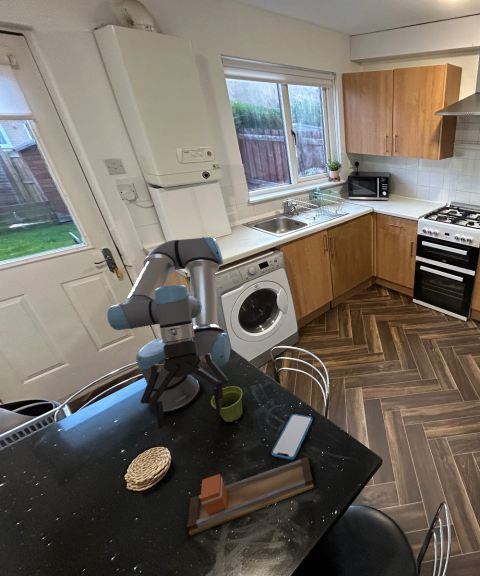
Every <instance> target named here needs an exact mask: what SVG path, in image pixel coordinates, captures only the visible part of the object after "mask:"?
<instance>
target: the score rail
mask: <svg viewBox="0 0 480 576" xmlns="http://www.w3.org/2000/svg"><path fill="white" fill-rule="evenodd" d="M225 487H226V490H227V492H228V509H226V510H223V511H220V512H218V513H215V514H212V515H210V516H209V515H208V513H207V511H206V509H205V507H204V505H202V501H201V499H200V498H201V494H199V495H196V496H193V497H190V500H189V508H188V516H187V523H186V528H187V530H188V535H189V536H190V537H191V536H193V535H195V534H199V533H200V532H203V531H206V530H209V529H211V528H213V527H217V526H219V525H221V524H224V523H226V522H229V521H232V520H234V519H237V518H239V517H242V516H245V515H247V514H250V513H253V512H255V511H258V510H260V509H262V508H265V507H268V506H270V505H273V504H275V503H278V502H280V501H283V500H285V499H288V498H291V497H293V496H296V495H298V494H301V493H304V492H306V491H309V490H311V489H314V488H315V487H314V481H313V476H312V471H311V466H310V460H309V457H308V456H306V457H304V458H301V459H297V460H295V461H292V462H289V463H287V464H285V465H280V466H278V467H275V468H272V469H270V470H267V471H263V472H260V473H258V474H256V475H252V476H250V477H247V478H244V479H241V480H239V481H235V482H232V483H230V484H227V485H225Z"/></svg>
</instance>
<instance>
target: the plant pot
mask: <svg viewBox="0 0 480 576" xmlns="http://www.w3.org/2000/svg"><path fill="white" fill-rule="evenodd" d="M222 389H223V398H222V399H220V404H221V412H220V413H219V415H220V416H221V418H222V419H223V421H224V422H227V423H232V422H233V421H237V420H238V419H240V418H241V416H242V415H243V403H242V401H243V400H242V397H243V394H244V393H243V390H242V388H240V387H239V386H234V385H229V386H226V387H222ZM210 404H211V407H212V408H214V409H216V404H215V397H214V395H213V396H212V397H211V400H210Z"/></svg>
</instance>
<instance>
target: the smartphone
mask: <svg viewBox="0 0 480 576" xmlns="http://www.w3.org/2000/svg"><path fill="white" fill-rule="evenodd" d="M312 423H313V417H312V416H308V415H304V414H297V413H293V414H291V415H290V417H289V419H288V420H287V422H286V424H285V426H284V428H283V430H282V432H281V433H280V435H279V437H278V439H277V441H276V442H275V444H274V446H273V448H272V450H271V456H272V457H275V458H280V459H285V460H291V461H293V460H295V459H296V457H297V455H298V453H299V451H300V449H301V447H302V445H303V442H304V441H305V438H306V436H307V434H308V431H309V430H310V428H311V426H312Z"/></svg>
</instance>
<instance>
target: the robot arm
mask: <svg viewBox="0 0 480 576" xmlns="http://www.w3.org/2000/svg"><path fill="white" fill-rule="evenodd" d="M218 243H219V242H218V241H217V239H216V238H215V237H213V236H206V237H205V236H202V237H196V238H194V237H193V238H184V239H172V240H168V241H165V242H163V243H162V244H159V245H157V246H156V247H155V248H153V249H152V250H151V251H150V252H149V253H148V254H147V255H146V257H145V258H144V260H143V269H142V270H141V272H140V274H139V276H138V277H137V279H136V282H135V283H134V285H133V287H132V289H131V290H130V292H129V294H128V296H127V298H126V299H125V300H124V303H122V302H121V303H118V304H113V305H111V306H109V307H108V309H107V313H106V316H107V317H106V318H107V321H108V324H109V326H110V327H111V328H112V329H113V330H115V331H123V330H133V329H138V328H145V327H149V326H155V325H159V330H160V337H159V338H155V339H154V340H151V341H149V342H148V343H146V344H145V345H143V346H142V347H141V348H140V349H139V350H138V352H137V353H136V356H135V360H136V364H137V368H138V370H139V371H140V372H141V374H142V376H143V378H144V380H145V382H146V386H145V388H144V391H143V394H142V397H141V399H140V404H147V405H148V404H149V406H150V411H151V416H152V417H156V420H157V421H156V422H157V427H158V429H163V428H164V427H165V425H166V420H165V414H172V413H176V412H179V411H181V410H183V409H184V408H186V407H188V406H189V405H190V404H192V403H193V402H194V401H195V400H196V399H197V398H198V396H199V395H200V391H201V385H200V384H199V382H198V380H197V379H196V378H195V377H194V376H193V375H191V374H195V375H197V376H199V377H200V378H202V379H203V380H205V381H206V382H208V383H209V384H210V385H212V386H213V387H214V388H213V389H212V391H213V396H214V397H215V404H216V413H217V414H220V412H221V404H220V399H222V398H223V386H224V385H227V384H228V383H229V378H228V376H227V375H226V374H225V373H224V372H223V371H222V369H221V368H222V367H225V366H226V365H227V364H228V362H229V360H230V357H231V338H230V336H229V333H227V332H225V330H224V328H223V327H221V326H220V322H219V309H218V308H219V307H218V296H217V295H218V294H217V293H218V292H217V280H216V273H217V272H218V271H219V269H220V266H222V265H223V264H224V258H223V255H222V252H221V249H220V246H219V244H218ZM177 270H185V271H186V273H188V274H189V286H190V287H189V288H190V290H189V291H190V293H189V292H188V287H187V286H186V285H184V284H170V285H166V282H167V281H168V278H169V276H171V275H172V274H173V273H174V271H177ZM207 371H212V372H213V374H214V375H215V376H216V377H217V378H218V379H217V378H216V377H214V376H213V375H211V374H210V373H209V372H207Z"/></svg>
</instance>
